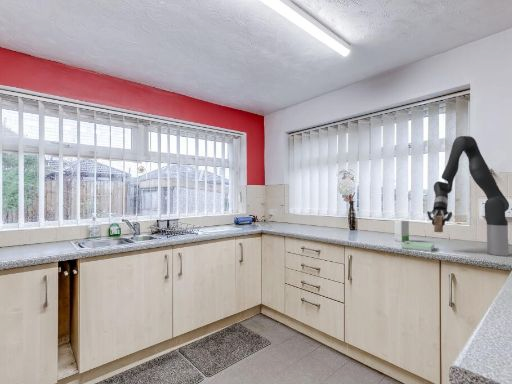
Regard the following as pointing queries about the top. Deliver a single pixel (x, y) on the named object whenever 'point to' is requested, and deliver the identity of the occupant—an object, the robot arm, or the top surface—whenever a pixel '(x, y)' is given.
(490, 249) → the robot arm
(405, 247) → the pale green tray
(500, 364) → the top surface
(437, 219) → the block
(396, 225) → the skincare box
